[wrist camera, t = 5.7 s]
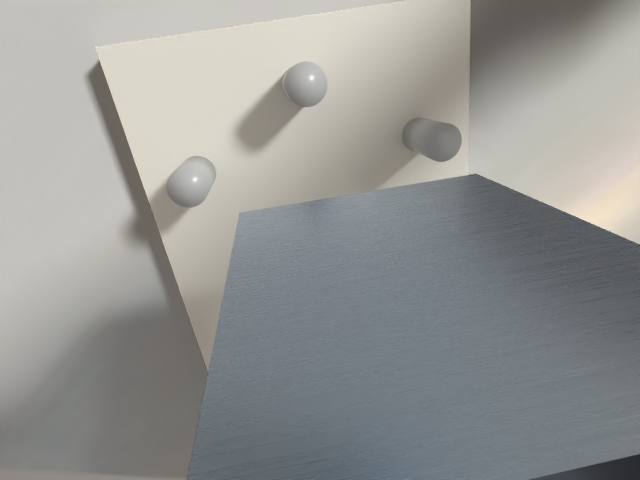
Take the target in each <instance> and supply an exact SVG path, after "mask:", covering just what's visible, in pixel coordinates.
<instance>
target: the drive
mask: <svg viewBox="0 0 640 480" xmlns="http://www.w3.org/2000/svg"><path fill="white" fill-rule="evenodd" d="M187 480H640V244H637V243H635V242H633V241H630V240H628V239H626V238H623V237H621V236H619V235H616V234H614V233H612V232H610V231H607V230H605V229H603V228H600V227H598V226H596V225H593V224H591V223H589V222H587V221H584V220H582V219H580V218H577V217H575V216H573V215H570V214H568V213H566V212H563V211H561V210H559V209H557V208H554V207H552V206H550V205H547V204H545V203H543V202H540V201H538V200H536V199H533V198H531V197H529V196H527V195H524V194H522V193H520V192H517V191H515V190H513V189H510V188H508V187H506V186H503V185H501V184H499V183H497V182H494V181H492V180H490V179H487V178H485V177H483V176H480V175H478V174H471V175H465V176H459V177H453V178H447V179H441V180H435V181H429V182H423V183H416V184H410V185H404V186H398V187H392V188H386V189H380V190H374V191H368V192H362V193H356V194H350V195H344V196H338V197H332V198H326V199H320V200H314V201H308V202H302V203H296V204H290V205H284V206H278V207H272V208H266V209H260V210H254V211H248V212H241V213H239V217H238V222H237V227H236V232H235V237H234V242H233V248H232V253H231V258H230V263H229V268H228V273H227V278H226V283H225V288H224V293H223V298H222V303H221V309H220V314H219V319H218V324H217V329H216V334H215V339H214V344H213V349H212V354H211V359H210V364H209V370H208V375H207V380H206V385H205V390H204V395H203V400H202V405H201V410H200V415H199V420H198V425H197V430H196V436H195V441H194V446H193V451H192V456H191V461H190V466H189V471H188V476H187Z"/></svg>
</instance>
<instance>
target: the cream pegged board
mask: <svg viewBox="0 0 640 480" xmlns="http://www.w3.org/2000/svg"><path fill="white" fill-rule="evenodd" d="M470 11H471V0H404V1H398V2H391V3H384V4H378V5H371V6H364V7H358V8H351V9H344V10H338V11H331V12H324V13H317V14H311V15H304V16H297V17H291V18H284V19H277V20H271V21H264V22H257V23H251V24H244V25H237V26H230V27H224V28H217V29H210V30H204V31H197V32H190V33H184V34H177V35H170V36H163V37H157V38H150V39H143V40H137V41H130V42H123V43H117V44H110V45H103V46H97V47H95V48H96V51H97V54H98V57H99V60H100V63H101V66H102V69H103V71H104V74H105V77H106V80H107V83H108V86H109V89H110V92H111V95H112V97H113V100H114V103H115V106H116V109H117V112H118V115H119V118H120V120H121V123H122V126H123V129H124V132H125V135H126V138H127V141H128V144H129V146H130V149H131V152H132V155H133V158H134V161H135V164H136V167H137V169H138V172H139V175H140V178H141V181H142V184H143V187H144V190H145V192H146V195H147V198H148V201H149V204H150V207H151V210H152V213H153V216H154V218H155V221H156V224H157V227H158V230H159V233H160V236H161V239H162V241H163V244H164V247H165V250H166V253H167V256H168V259H169V262H170V265H171V267H172V270H173V273H174V276H175V279H176V282H177V285H178V288H179V290H180V293H181V296H182V299H183V302H184V305H185V308H186V311H187V314H188V316H189V319H190V322H191V325H192V328H193V331H194V334H195V337H196V339H197V342H198V345H199V348H200V351H201V354H202V357H203V360H204V362H205V365H206V368H207V371H208V370H209V364H210V359H211V354H212V349H213V344H214V339H215V334H216V329H217V324H218V319H219V314H220V309H221V303H222V298H223V293H224V288H225V283H226V278H227V273H228V268H229V263H230V258H231V253H232V248H233V242H234V237H235V232H236V227H237V222H238V217H239V213H241V212H248V211H254V210H260V209H266V208H272V207H278V206H284V205H290V204H296V203H302V202H308V201H314V200H320V199H326V198H332V197H338V196H344V195H350V194H356V193H362V192H368V191H374V190H380V189H386V188H392V187H398V186H404V185H410V184H416V183H423V182H429V181H435V180H441V179H447V178H453V177H459V176H465V175H468V167H469V89H470Z"/></svg>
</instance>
